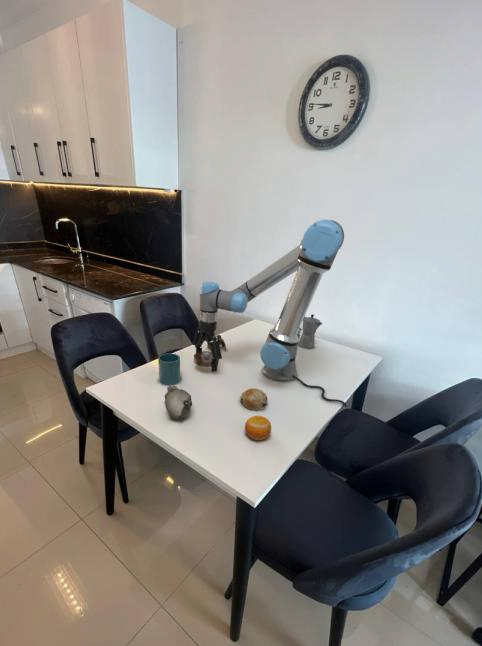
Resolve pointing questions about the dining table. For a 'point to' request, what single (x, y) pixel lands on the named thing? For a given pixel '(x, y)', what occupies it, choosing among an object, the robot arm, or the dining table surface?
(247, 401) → the brown oval lump
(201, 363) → the lid
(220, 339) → the brown strappy sandal
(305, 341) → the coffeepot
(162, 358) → the canister
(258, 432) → the fruit
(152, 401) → the dining table surface
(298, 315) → the robot arm
